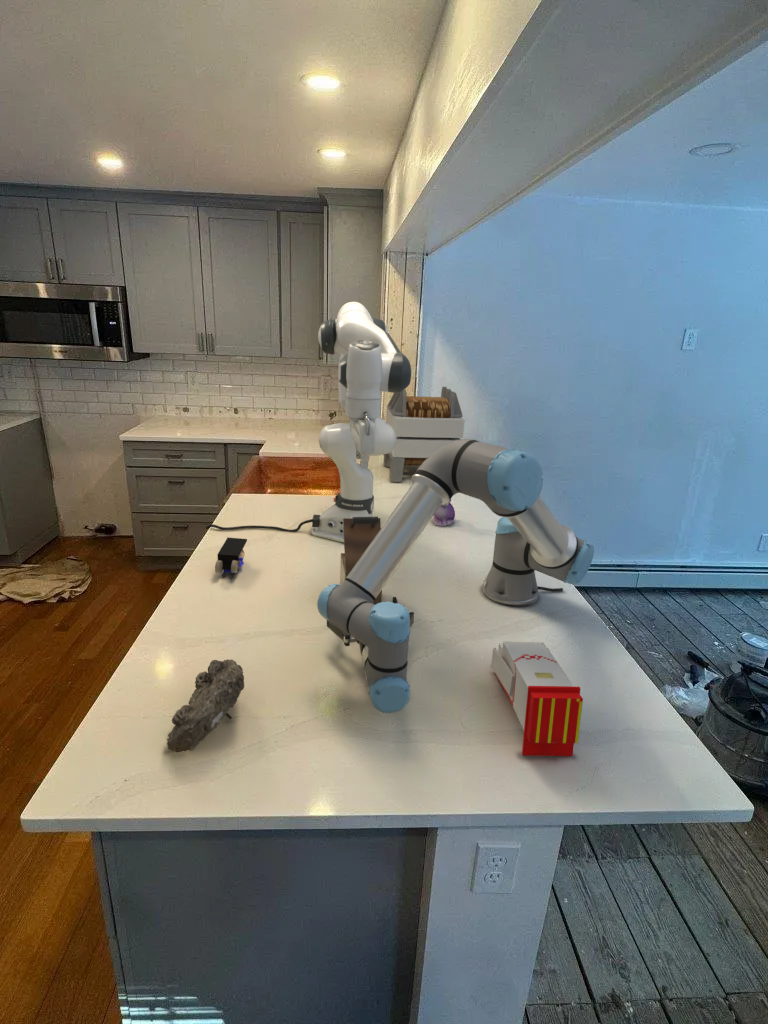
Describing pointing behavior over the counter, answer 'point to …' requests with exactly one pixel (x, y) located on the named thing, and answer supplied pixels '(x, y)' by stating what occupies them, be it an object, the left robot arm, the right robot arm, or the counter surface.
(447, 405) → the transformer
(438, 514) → the figurine
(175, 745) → the fossil
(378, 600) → the chest
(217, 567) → the black wheeled toy vehicle
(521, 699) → the toy
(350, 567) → the lid
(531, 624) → the counter surface
